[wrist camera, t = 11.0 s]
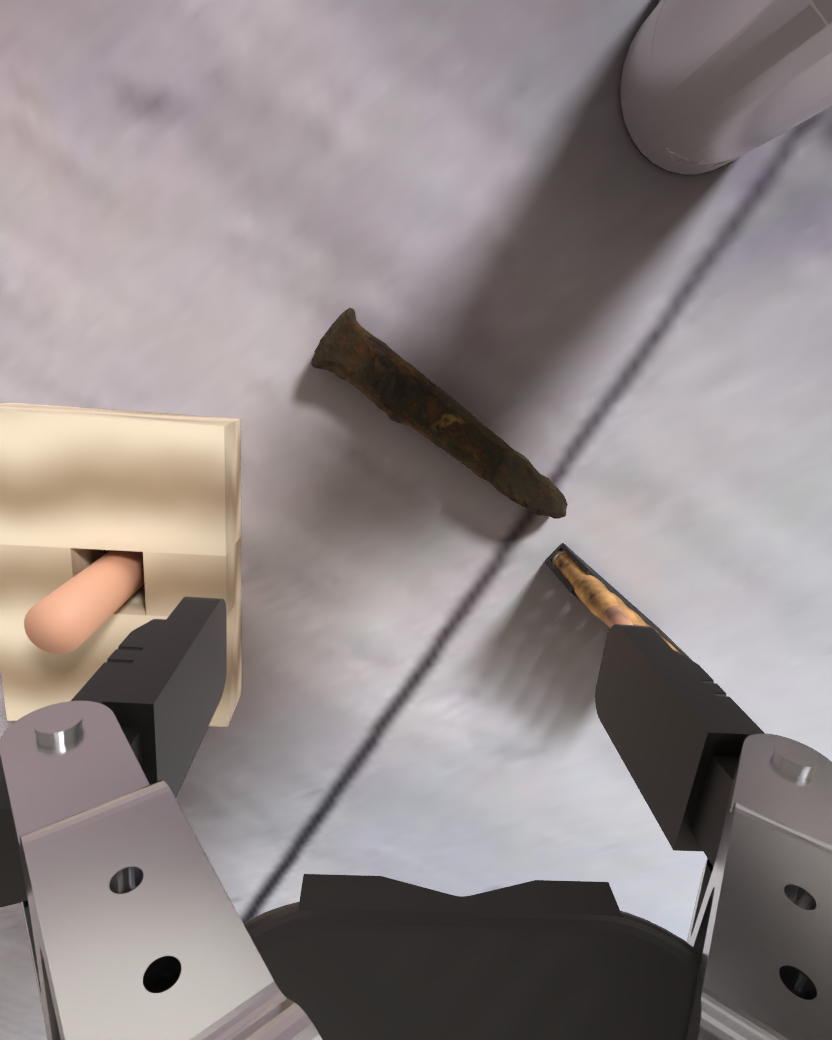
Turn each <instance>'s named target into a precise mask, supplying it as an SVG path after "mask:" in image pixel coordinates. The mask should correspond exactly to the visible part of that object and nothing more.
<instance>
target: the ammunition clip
mask: <svg viewBox="0 0 832 1040" xmlns="http://www.w3.org/2000/svg"><path fill="white" fill-rule="evenodd" d="M545 563H546V564H547V565H548V566H549V567H550V568H551V570H552V571H553V572H554V573H555V574H556V576H557V577H558V578H559V579H560V580H561V582H562V583H563V584H564V585H565V586H566V588H567V589H568V590H569V591H570V592H571V593H572V594H573V595H574V596H575V597H577V598H578V599H579V600H580V601H581V602H582V603H584V604H585V606H586V607H587V608H588V609H589V610H590V611H591V612H592V613H593V614H594V615H595V616H597V617H598V618H600V619H601V620H602V621H603V622H604V623H605V624H607V626H608V627H609V628H611V627H612V626H613V625H614V624H622V625H638V626H650V627H652V628H653V629H654V630H655V631H656V632H657V633H658V634H659V635H660V636H661V637H662V638H663V639H664V640H665V641H666V642H667V643H668V645H669V646H670V647H671V648H672V649H673V650H674V651H677V652H679V653H680V654H682V655H684V656H685V657H687V658H688V659H690V658H689V657H688V656H687V655H686V654H685V653H684V652H683V651H682V650H681V649H680V648H679V647H678V646H677V645H676V644H675V643H674V642H673V641H672V640H671V639H670V638H669V637H668V636H667V635H666V634H664V633H663V632H662V631H661V630H660V629H659V628H658V627H657V626H656V625H655V624H654V623H653V622H651V621H650V620H649V619H648V618H647V617H646V616H645V615H644V614H642V613H641V612H640V611H639V610H638V609H637V608H636V607H635V606H633V605H632V604H631V603H630V602H629V601H628V600H627V599H626V598H624V597H623V596H622V595H621V594H620V593H619V592H618V591H617V590H616V589H614V588H613V587H612V586H611V585H610V584H609V583H608V582H607V581H605V580H604V579H603V578H602V577H601V576H600V575H599V574H598V573H596V572H595V571H594V570H593V569H592V568H591V567H590V566H589V565H587V564H586V563H585V562H584V561H583V560H582V559H581V558H580V557H578V556H577V555H576V554H575V553H574V552H573V551H572V550H571V549H569V548H568V547H567V546H566V545H565V544H564V543H562V544H561V545H560V546H559V547H558V548H557V549H556V550H555V551H554V552H553V553H552V554H551V555H550V556H549V557H548V558H547V559H546V560H545ZM690 660H691V659H690Z"/></svg>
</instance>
